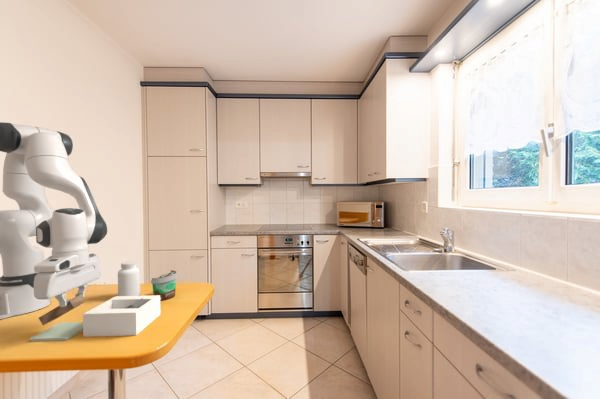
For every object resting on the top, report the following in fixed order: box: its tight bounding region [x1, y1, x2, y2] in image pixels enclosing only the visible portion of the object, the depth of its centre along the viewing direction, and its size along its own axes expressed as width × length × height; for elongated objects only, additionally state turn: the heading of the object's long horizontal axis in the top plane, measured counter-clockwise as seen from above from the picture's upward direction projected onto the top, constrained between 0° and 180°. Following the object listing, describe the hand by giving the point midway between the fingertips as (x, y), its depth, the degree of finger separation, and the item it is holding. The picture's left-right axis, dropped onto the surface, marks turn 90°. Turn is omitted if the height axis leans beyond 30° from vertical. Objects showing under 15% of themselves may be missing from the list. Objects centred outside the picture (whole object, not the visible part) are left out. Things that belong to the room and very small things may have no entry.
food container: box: [150, 270, 179, 302], centre depth 108 cm, size 12×6×10 cm, turn 168°
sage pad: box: [28, 321, 83, 342], centre depth 81 cm, size 11×10×1 cm
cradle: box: [124, 298, 145, 309], centre depth 85 cm, size 12×5×2 cm, turn 91°
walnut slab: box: [38, 295, 86, 326], centre depth 81 cm, size 11×4×3 cm, turn 91°
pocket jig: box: [82, 294, 162, 337], centre depth 85 cm, size 16×14×7 cm
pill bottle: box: [117, 260, 141, 296], centre depth 110 cm, size 8×8×15 cm
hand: (72, 302), depth 81 cm, fingers closed on walnut slab, 4 cm apart
